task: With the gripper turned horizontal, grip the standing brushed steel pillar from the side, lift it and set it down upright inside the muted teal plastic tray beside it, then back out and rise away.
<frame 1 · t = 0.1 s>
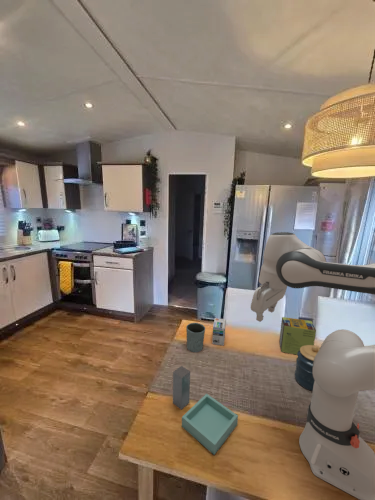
hand: (265, 315, 82), 39 cm above the table, tool pointing down, fingers open, 8 cm apart
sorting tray: (209, 425, 83), on the table
protein box: (294, 349, 128), on the table
dark green embossed cup: (195, 347, 127), on the table
canister: (309, 381, 105), on the table
brushed steel pillar: (181, 402, 92), on the table
light bulb box: (218, 340, 135), on the table
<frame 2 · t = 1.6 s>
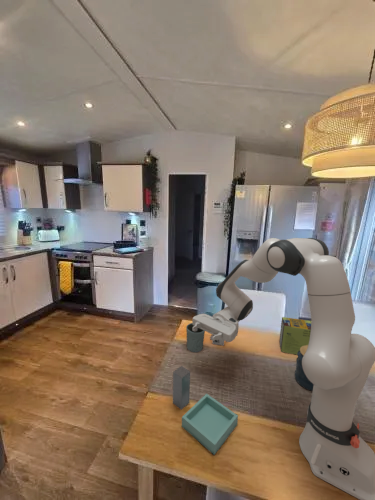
hand: (202, 334, 96), 24 cm above the table, tool horizontal, fingers open, 8 cm apart
nothing on the table moved.
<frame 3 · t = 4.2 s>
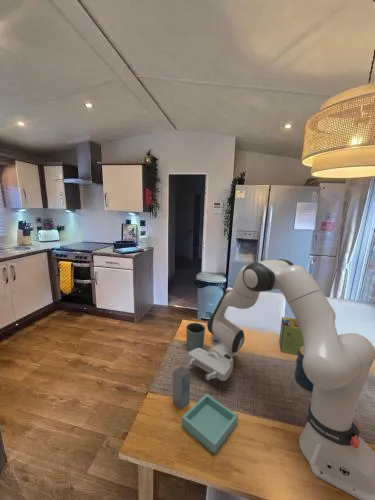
hand: (197, 372, 97), 8 cm above the table, tool horizontal, fingers open, 8 cm apart
nothing on the table moved.
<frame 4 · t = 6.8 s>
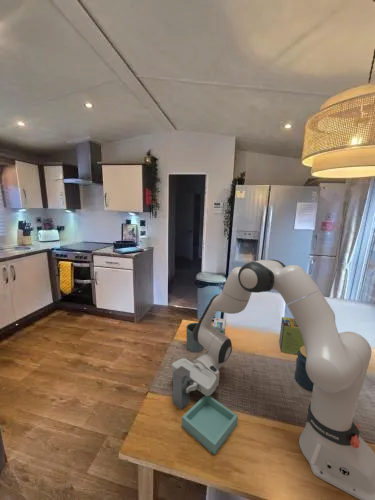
hand: (179, 386, 90), 8 cm above the table, tool horizontal, fingers closed on brushed steel pillar, 5 cm apart
brushed steel pillar: (181, 402, 92), on the table, touching gripper
everything else where it was.
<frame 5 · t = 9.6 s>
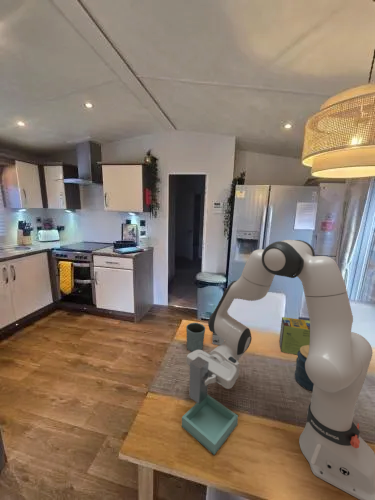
hand: (197, 378, 82), 16 cm above the table, tool horizontal, fingers closed on brushed steel pillar, 5 cm apart
brushed steel pillar: (198, 396, 85), point 8 cm above the table, touching gripper
everything else where it was.
when the fingers open (10 cm above the table, at t = 12.1 s): brushed steel pillar drops 1 cm, resting on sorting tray.
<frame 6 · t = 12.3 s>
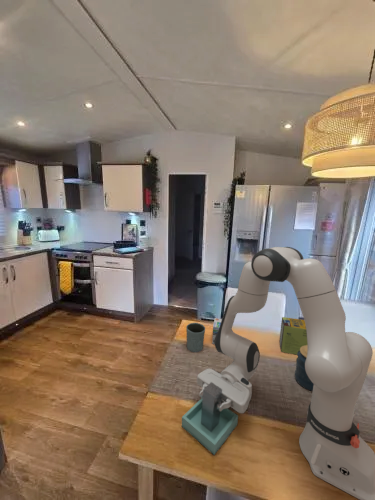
hand: (209, 402, 80), 10 cm above the table, tool horizontal, fingers open, 6 cm apart
brushed steel pillar: (209, 423, 83), point 1 cm above the table, touching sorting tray
everything else where it was.
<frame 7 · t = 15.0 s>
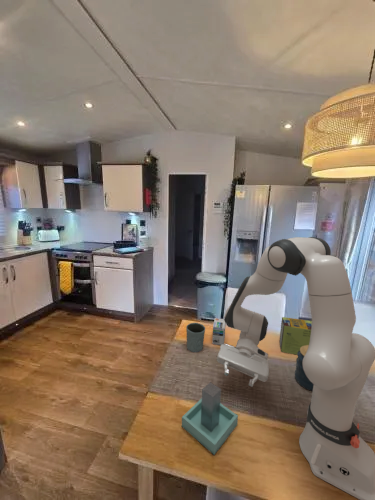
hand: (238, 379, 88), 13 cm above the table, tool horizontal, fingers open, 8 cm apart
nothing on the table moved.
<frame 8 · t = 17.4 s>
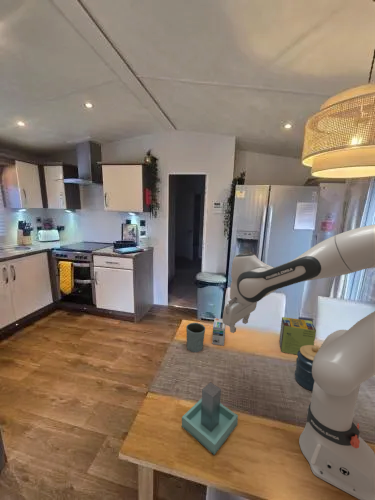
hand: (239, 327, 93), 29 cm above the table, tool pointing down, fingers open, 8 cm apart
nothing on the table moved.
at the end: brushed steel pillar inside the target area on the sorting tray (0.0 cm from its centre), point 1.0 cm above the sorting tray's base; brushed steel pillar tilted 0°; the gripper is holding nothing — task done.
